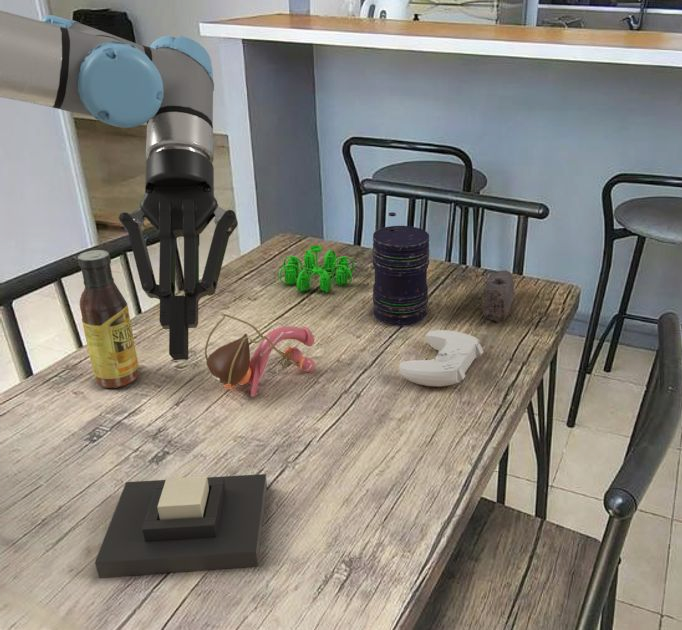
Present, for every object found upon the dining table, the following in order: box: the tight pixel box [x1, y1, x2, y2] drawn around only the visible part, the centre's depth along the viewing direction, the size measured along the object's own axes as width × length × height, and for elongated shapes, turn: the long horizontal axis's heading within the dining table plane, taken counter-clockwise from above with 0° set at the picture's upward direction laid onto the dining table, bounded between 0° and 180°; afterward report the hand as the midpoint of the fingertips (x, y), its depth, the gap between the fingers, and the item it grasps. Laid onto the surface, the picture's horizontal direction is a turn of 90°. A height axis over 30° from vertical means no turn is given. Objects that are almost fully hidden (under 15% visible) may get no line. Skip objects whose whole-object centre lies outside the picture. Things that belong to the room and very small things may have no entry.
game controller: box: [398, 329, 484, 387], centre depth 106 cm, size 14×4×10 cm
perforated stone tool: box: [480, 269, 515, 323], centre depth 124 cm, size 15×5×7 cm, turn 164°
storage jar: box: [372, 211, 430, 327], centre depth 119 cm, size 10×10×18 cm
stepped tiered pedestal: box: [94, 473, 268, 579], centre depth 75 cm, size 16×12×4 cm
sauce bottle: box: [77, 249, 139, 389], centre depth 97 cm, size 6×6×20 cm
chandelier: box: [278, 245, 355, 294], centre depth 133 cm, size 15×15×7 cm
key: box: [157, 475, 209, 520], centre depth 74 cm, size 4×4×2 cm
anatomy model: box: [204, 313, 316, 398], centre depth 101 cm, size 10×14×15 cm
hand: (178, 356), depth 73 cm, fingers closed
